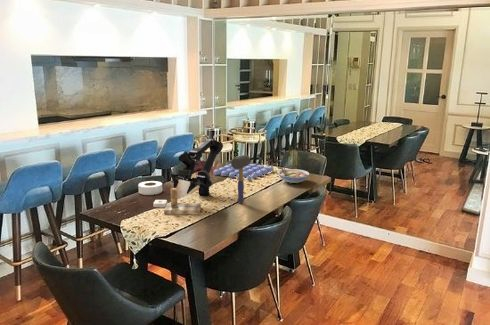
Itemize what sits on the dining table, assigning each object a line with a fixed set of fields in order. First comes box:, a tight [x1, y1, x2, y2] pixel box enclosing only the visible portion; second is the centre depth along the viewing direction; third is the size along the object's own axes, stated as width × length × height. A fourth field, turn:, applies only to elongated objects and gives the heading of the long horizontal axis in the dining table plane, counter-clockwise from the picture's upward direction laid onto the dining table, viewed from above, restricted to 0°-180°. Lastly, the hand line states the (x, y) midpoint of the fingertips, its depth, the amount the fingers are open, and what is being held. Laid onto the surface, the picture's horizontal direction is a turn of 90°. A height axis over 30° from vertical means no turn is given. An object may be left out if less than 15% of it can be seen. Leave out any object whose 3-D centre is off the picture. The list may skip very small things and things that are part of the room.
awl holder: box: [152, 199, 168, 208], centre depth 243 cm, size 7×7×2 cm
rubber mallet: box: [230, 154, 251, 204], centre depth 245 cm, size 12×8×30 cm, turn 146°
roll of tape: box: [137, 180, 163, 196], centre depth 270 cm, size 16×16×6 cm
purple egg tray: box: [212, 163, 273, 181], centre depth 318 cm, size 35×34×5 cm
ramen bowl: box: [277, 167, 310, 184], centre depth 293 cm, size 25×23×8 cm
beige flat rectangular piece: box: [163, 202, 202, 215], centre depth 234 cm, size 20×12×3 cm, turn 91°
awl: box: [170, 187, 178, 208], centre depth 233 cm, size 4×4×13 cm
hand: (180, 192), depth 242 cm, fingers open, 9 cm apart
